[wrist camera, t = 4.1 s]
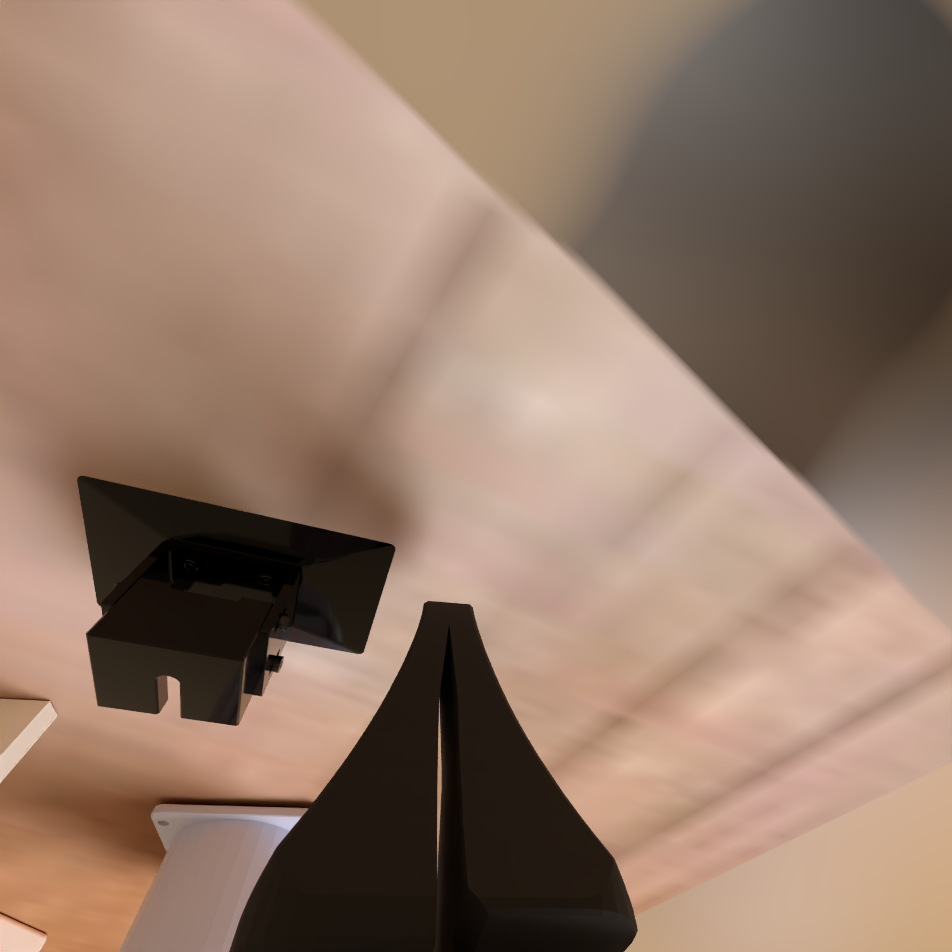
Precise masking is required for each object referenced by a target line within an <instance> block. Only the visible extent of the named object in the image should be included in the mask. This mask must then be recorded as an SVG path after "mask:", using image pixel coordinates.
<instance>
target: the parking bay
mask: <svg viewBox="0 0 952 952" xmlns="http://www.w3.org/2000/svg"><path fill="white" fill-rule="evenodd" d="M57 716H58V715H57V714H56V712H55V710H54V708H53V706H52V704H51V702H50V701H38V700H19V699H0V783H1V782H2V781H3V779H4V778H5V777H6V776H7V775H8V774H9V772H10V771H11V770H12V769H13V768H14V767H15V765H16V764H17V763H18V762H19V761H20V760H21V758H22V757H23V756H24V755H25V754H26V753H27V751H28V750H29V749H30V748H31V747H32V746H33V744H34V743H35V742H36V741H37V740H38V739H39V737H40V736H41V735H42V734H43V733H44V732H45V730H46V729H47V728H48V727H49V726H50V725H51V723H52V722H53V721H54V720H55V719H56V718H57Z"/></svg>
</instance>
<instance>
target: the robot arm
mask: <svg viewBox="0 0 952 952" xmlns="http://www.w3.org/2000/svg"><path fill="white" fill-rule="evenodd" d="M439 697H440V728H441V760H442V793H441V814H440V834H439V854H438V873H437V769H438V722H439ZM151 819H152V821H153V823H154V825H155V827H156V830H157V832H158V834H159V836H160V839H161V841H162V843H163V845H164V847H165V850H166V852H167V853H166V855H165V857H164V859H163V861H162V863H161V865H160V867H159V869H158V872H157V874H156V876H155V878H154V880H153V882H152V884H151V886H150V888H149V890H148V892H147V894H146V896H145V898H144V900H143V902H142V905H141V907H140V909H139V911H138V913H137V915H136V917H135V919H134V921H133V923H132V925H131V927H130V929H129V931H128V933H127V936H126V938H125V940H124V942H123V944H122V946H121V948H120V950H119V952H624V951H625V950H626V949H627V947H628V946H629V945H630V944H631V943H632V941H633V939H634V938H635V936H636V933H637V931H638V930H637V925H636V920H635V916H634V911H633V908H632V905H631V901H630V898H629V896H628V893H627V890H626V887H625V884H624V882H623V879H622V876H621V874H620V871H619V869H618V866H617V864H616V862H615V859H614V858H613V856H612V855H611V854H610V853H609V851H608V850H607V849H606V848H605V847H604V845H603V844H602V843H601V842H600V840H599V839H598V838H597V837H596V836H595V834H594V833H593V832H592V830H591V829H590V828H589V827H588V825H587V824H586V823H585V821H584V820H583V819H582V818H581V816H580V815H579V814H578V812H577V811H576V810H575V808H574V807H573V805H572V804H571V803H570V801H569V800H568V799H567V797H566V796H565V795H564V793H563V792H562V790H561V789H560V787H559V786H558V784H557V783H556V781H555V780H554V778H553V777H552V775H551V774H550V772H549V771H548V770H547V768H546V767H545V765H544V764H543V762H542V761H541V759H540V758H539V756H538V754H537V753H536V751H535V749H534V748H533V746H532V744H531V743H530V741H529V740H528V738H527V736H526V734H525V733H524V731H523V729H522V727H521V726H520V724H519V722H518V720H517V718H516V717H515V715H514V713H513V711H512V709H511V707H510V705H509V703H508V701H507V699H506V697H505V695H504V693H503V691H502V688H501V686H500V684H499V682H498V680H497V677H496V675H495V673H494V670H493V668H492V666H491V663H490V661H489V658H488V656H487V653H486V651H485V648H484V645H483V642H482V639H481V636H480V634H479V630H478V627H477V624H476V620H475V616H474V612H473V607H472V606H471V605H470V604H458V603H446V602H433V601H427V602H426V603H424V606H423V612H422V616H421V620H420V623H419V626H418V629H417V632H416V634H415V637H414V640H413V642H412V644H411V647H410V649H409V651H408V653H407V656H406V658H405V660H404V662H403V664H402V667H401V669H400V670H399V672H398V674H397V676H396V678H395V680H394V682H393V684H392V686H391V688H390V690H389V692H388V693H387V695H386V697H385V699H384V700H383V702H382V704H381V706H380V707H379V709H378V711H377V712H376V714H375V716H374V717H373V719H372V721H371V722H370V724H369V725H368V727H367V728H366V730H365V732H364V733H363V735H362V736H361V738H360V739H359V741H358V742H357V744H356V745H355V747H354V748H353V750H352V751H351V753H350V754H349V755H348V757H347V758H346V760H345V761H344V763H343V764H342V765H341V767H340V768H339V769H338V771H337V772H336V773H335V775H334V776H333V777H332V779H331V780H330V781H329V783H328V784H327V785H326V787H325V788H324V789H323V791H322V792H321V793H320V795H319V796H318V797H317V799H316V800H315V801H314V802H313V804H312V805H311V806H310V807H309V808H283V807H249V806H215V805H182V804H160V805H157V806H156V807H155V808H154V810H153V811H152V813H151Z"/></svg>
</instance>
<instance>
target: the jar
mask: <svg viewBox="0 0 952 952" xmlns="http://www.w3.org/2000/svg"><path fill="white" fill-rule="evenodd" d="M46 939H47V935H46V934H44V933H42V932H40V931H38V930H36V929H33V928H31V927H29V926H27V925H25V924H22V923H20V922H18V921H16V920H14V919H11V918H9V917H7V916H5V915H3V914H0V952H39V951H40V950H41V948H42V946H43V945H44V943H45V941H46Z"/></svg>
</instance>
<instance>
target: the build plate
mask: <svg viewBox="0 0 952 952" xmlns="http://www.w3.org/2000/svg"><path fill="white" fill-rule="evenodd" d="M77 481H78V487H79V493H80V500H81V506H82V512H83V518H84V524H85V530H86V536H87V543H88V549H89V555H90V561H91V567H92V573H93V580H94V586H95V592H96V598H97V603H98V604H99V605H100V606H101V608H102V615H103V616H102V617H101V618H100V619H99V620H98V621H97V622H96V623H95V625H94V626H93V627H92V628H91V629H90V630H89V631H88V632H87V633H86V638H87V644H88V650H89V656H90V663H91V669H92V675H93V681H94V687H95V693H96V699H97V705H98V706H102V707H109V708H116V709H123V710H130V711H137V712H144V713H151V714H158V713H160V711H161V710H162V708H163V706H164V705H165V703H166V702H167V700H168V688H167V676H171V677H173V678H175V679H177V680H178V681H179V682H180V716H181V718H186V719H193V720H200V721H207V722H214V723H220V724H227V725H234V726H237V725H239V723H240V721H241V719H242V716H243V714H244V712H245V710H246V708H247V706H248V704H249V701H250V699H251V697H252V695H257V696H263V693H264V691H265V689H266V687H267V684H268V682H269V680H270V678H271V675H272V673H273V672H277V673H278V672H279V671H280V669H281V666H282V664H283V660H284V657H283V656H280V655H281V653H282V650H283V648H284V646H285V644H286V641H290V642H296V643H301V644H307V645H312V646H318V647H323V648H329V649H334V650H340V651H345V652H350V653H356V654H361V653H363V652H364V649H365V646H366V642H367V639H368V636H369V633H370V630H371V626H372V623H373V620H374V617H375V613H376V610H377V607H378V604H379V601H380V597H381V594H382V591H383V588H384V585H385V581H386V578H387V575H388V572H389V568H390V565H391V562H392V559H393V556H394V552H395V547H394V546H393V545H392V544H388V543H384V542H379V541H375V540H370V539H366V538H361V537H357V536H352V535H348V534H343V533H338V532H334V531H329V530H325V529H320V528H316V527H311V526H307V525H302V524H298V523H293V522H289V521H284V520H280V519H275V518H271V517H266V516H262V515H257V514H253V513H248V512H244V511H239V510H235V509H230V508H226V507H221V506H217V505H212V504H208V503H203V502H199V501H194V500H190V499H185V498H181V497H176V496H172V495H167V494H163V493H158V492H154V491H149V490H145V489H140V488H136V487H131V486H127V485H122V484H117V483H113V482H108V481H104V480H99V479H95V478H90V477H86V476H79V477H78V479H77Z"/></svg>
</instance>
